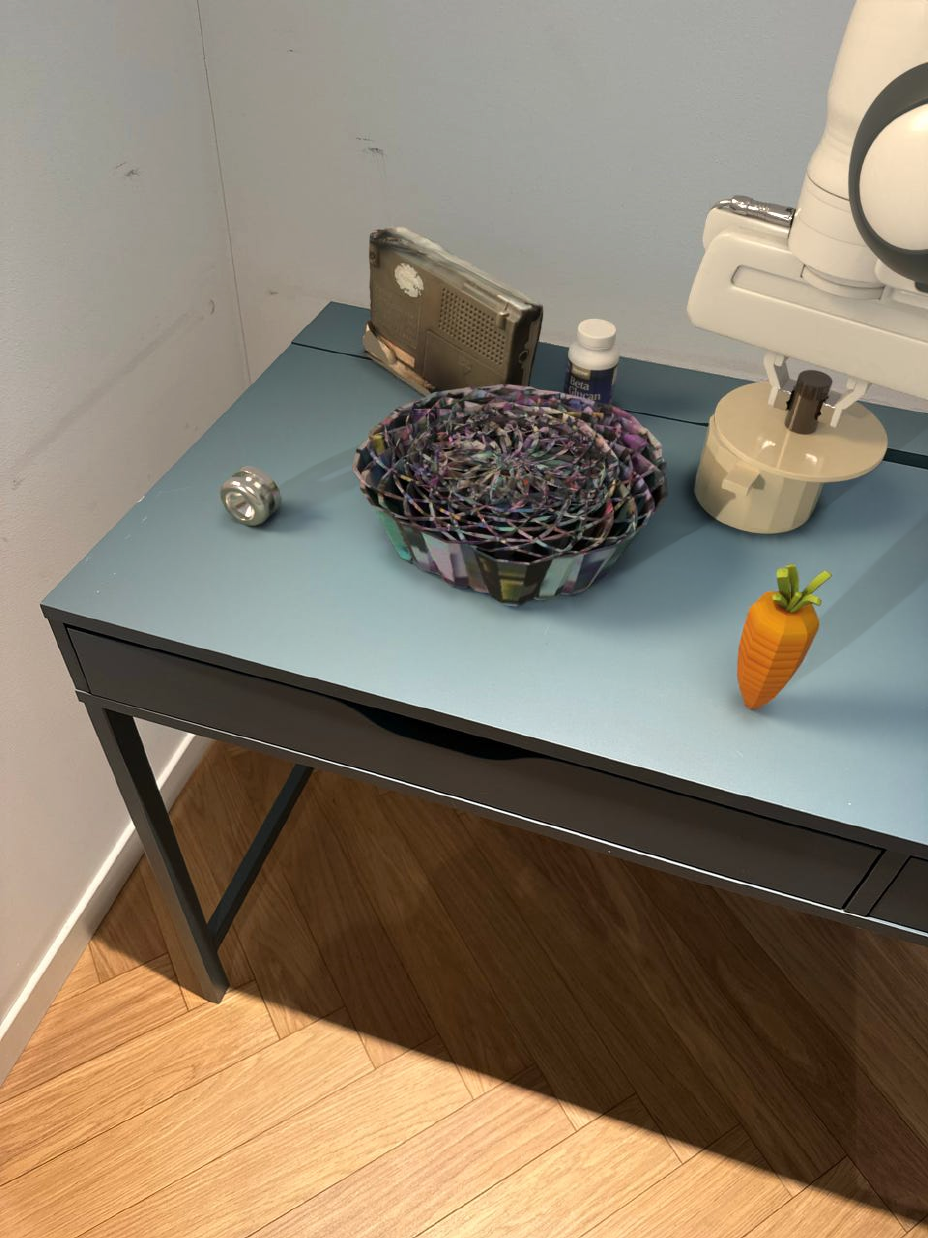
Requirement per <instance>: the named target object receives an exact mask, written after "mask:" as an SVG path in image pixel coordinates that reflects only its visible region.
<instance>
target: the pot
mask: <svg viewBox="0 0 928 1238" xmlns="http://www.w3.org/2000/svg"><path fill="white" fill-rule="evenodd" d="M714 414H715V412H714V413H713V414H712V415H711V416H710V418H709V421H708V425H707V428H706V433H705V436H704V441H703V444H702V445H703V446H702V449H701V453H700V457H699V462H698V466H697V471H696V474H695V482H694V494H695V498H696V501H697V502H698V503H699V505H700V506H701V508H702V509H703V510H704V511H705V512H706V513H707V514H709V516H711V517H712V518H713V519H715V520H716V521H719V522H720V523H722V524H724V525H727V526H728V527H731V528H734V529H737V530H740V531H744V532H748V533H753V534H761V535H762V534H766V535H767V534H770V535H771V534H781V533H786V532H790V531H793V530H795V529H797V528H799V527H801V526H803V525H804V524H805V523H806V522H807V521H808V520H809V519H810V518H811V516H812V514H813V513H814V510H815V508H816V506H817V504H818V501H819V498H820V495H821V492H822V490H823V487H824V484H825V482H809V481H800V480H794V479H789V478H785V477H781V476H778V475H775V474H772V473H769V472H766V471H764V470H761V469H759V468H757V467H755V466H753V465H751V464H749V463H747V462H745V461H744V460H742V459H741V458H739V457H738V456H736V455H735V454H734V453H732V452H731V451H730V450H729V449H728V448H727V447H726V446H725V445H724V444H723V442H722V441H721V440H720V438H719V436H718V435H717V433H716V430H715V427H714Z"/></svg>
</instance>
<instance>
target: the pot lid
mask: <svg viewBox="0 0 928 1238" xmlns="http://www.w3.org/2000/svg"><path fill="white" fill-rule="evenodd" d="M796 381H797V382H796V385H795V388H794V392H793V395H792V398H791V401H790V405H789V408H788V410H787V411H784V410H781V409H778V408H775V407H772V406H769V405H768V400H769V396H770V393H771V389H772V386H771V385H770V381H769V380H764V381H755V382H752V383H751V382H750V383H747V384H744V385H740V386H738V387H736V388H734V389H732V390H730V392H728V393H726V394H725V395H724V396H723V397H722V398H721V399H720V400H719V402H718V403H717V405H716V407H715V411H714V413H715V414H714V413H713V414H714V427H715V430H716V433H717V435H718V436H719V438H720V440H721V441H722V442H723V444H724V445H725V446H726V447H727V448H728V449H729V450H730V451H731V452H732V453H734V454H735V455H736V456H738V457H739V458H741V459H742V460H744V461H745V462H747V463H749V464H751V465H753V466H755V467H757V468H759V469H761V470H764V471H766V472H769V473H772V474H775V475H778V476H781V477H785V478H789V479H794V480H800V481H809V482H824V483H837V482H845V481H849V480H853V479H856V478H859V477H862V476H864V475H866V474H868V473H870V472H871V471H873V470H875V469H876V468H877V467H878V466H879V465H880V463H881V462H882V461H883V459H884V457H885V455H886V453H887V450H888V445H889V441H888V435H887V431H886V429H885V427H884V426H883V423H881V421H880V420H879V418H878V417H877V416H876V415H875V414H874V413H873V412H872V411H871V410H870V409H868V408H867V407H865V406H864V405H863V404H861V403H859V402H858V401H856V402H854V403H853V404H852V405H850V406H849V407H848V408H847V409H846V412H845V415H844V417H843V419H842V421H841V423H840V424H839V425H838V427H837V428H835V427H831V426H829V425H826V424H823V423H820V422H817V419H818V416H819V415H820V413H821V412H820V410H821V407H822V404H823V402H824V401H825V399H827V398H828V395H829V394H830V393H831V392H832V393H835V394H839V395H842V394H843V393H840V392H839V391H836V390H833V389H831V388H832V386H833V379H832V377H831V376H830V374H829V375H828V373H825V372H823V371H820V370H817V369H806V370H802V371H801V372H799V373H798V376H797V380H796Z"/></svg>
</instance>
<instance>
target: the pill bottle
mask: <svg viewBox="0 0 928 1238" xmlns="http://www.w3.org/2000/svg"><path fill="white" fill-rule="evenodd" d="M617 332H618V331H617V327H616V326H615V324H613V323H612V322H610V321H609V320H605V319H601V318H589V319H588V318H587V319H584V320H582V321H581V322H580V323H579V324H578V326H577V332H576V340H574V341H573V342H572V343H571V344H570V346H569V348H568V352H567V359H566V370H565V376H564V377H565V378H564V385H563V391H562V393H565V394H569V395H573V396H577V397H581V398H585V399H589V400H593V401H595V402H599V403H603V404H607V405H612V406H613V399H614V392H615V386H616V381H617V373H618V370H619V369H618V368H619V363H620V362H619V361H620V349H619V348H618V346H617V345H616V339H617Z"/></svg>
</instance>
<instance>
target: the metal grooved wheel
mask: <svg viewBox="0 0 928 1238" xmlns="http://www.w3.org/2000/svg"><path fill="white" fill-rule="evenodd" d="M219 493H220V496H219V497H220V500H221V502H222V505H223V507H224V509H225V510H226V511H227V513H228V514H229V515H230V516H231V517H232V518H233V519H235V520H236V521H238V522H240V523H241V524H244V525H246V526H259V525H261V524H263V523H264V522H265V521H266V520H267V519H268V517H269V516H271V515H273V513H274V512H275V511H276V510H277V509H278V508H279V507H280V505H281V502H282V496H281V492H280V489H279V486H278V485H277V483H276V482H275V481H274V479H273V478H272V477H271V476H270V475H269V474H268V473H266V472H265V471H264V470H262V469H261V468H258V467H255V466H253V465H244V466H241V467H239V468H238V469H237V470H236V471H235V472H234V473H233V474H232V475H231V477H229V478H228V479H226V480H225V481H223V483H222V485H221V487H220V491H219Z"/></svg>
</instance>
